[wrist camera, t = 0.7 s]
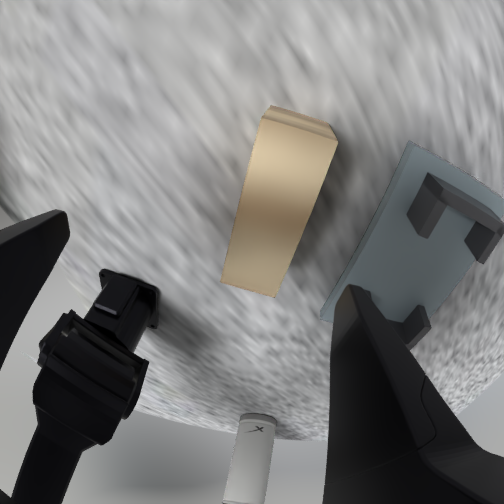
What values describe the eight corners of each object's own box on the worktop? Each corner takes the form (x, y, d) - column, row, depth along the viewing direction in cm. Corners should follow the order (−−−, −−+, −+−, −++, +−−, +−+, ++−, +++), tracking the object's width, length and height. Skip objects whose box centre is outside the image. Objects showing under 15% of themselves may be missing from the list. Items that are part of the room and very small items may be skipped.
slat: (281, 250, 21) (275, 297, 17) (235, 237, 21) (219, 282, 17) (327, 122, 15) (338, 141, 11) (271, 105, 15) (261, 117, 11)
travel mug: (256, 409, 40) (234, 524, 24) (284, 421, 42) (268, 526, 26) (231, 415, 43) (208, 517, 27) (258, 426, 45) (240, 522, 29)
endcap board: (407, 331, 25) (414, 360, 22) (320, 311, 24) (320, 343, 22) (502, 198, 15) (526, 221, 12) (409, 140, 15) (430, 157, 12)
